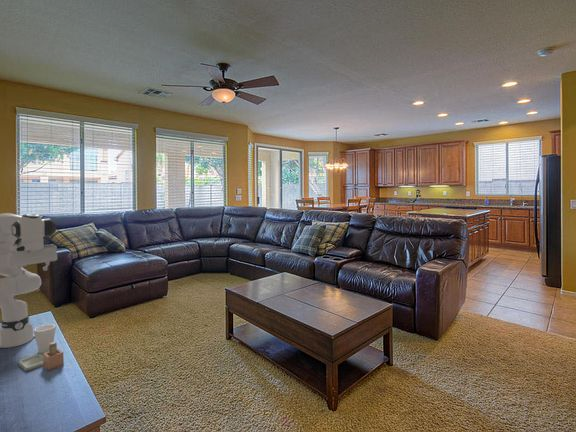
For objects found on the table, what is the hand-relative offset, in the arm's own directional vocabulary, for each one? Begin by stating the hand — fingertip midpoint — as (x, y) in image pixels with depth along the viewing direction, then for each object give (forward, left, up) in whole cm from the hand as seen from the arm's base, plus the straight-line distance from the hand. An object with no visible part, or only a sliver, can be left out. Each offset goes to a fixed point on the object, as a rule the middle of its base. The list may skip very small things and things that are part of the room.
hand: (34, 272), depth 161 cm
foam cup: (-7, +6, -47) cm, 48 cm away
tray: (+4, -3, -46) cm, 47 cm away
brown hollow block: (+15, +2, -46) cm, 49 cm away
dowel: (+15, +2, -46) cm, 48 cm away
